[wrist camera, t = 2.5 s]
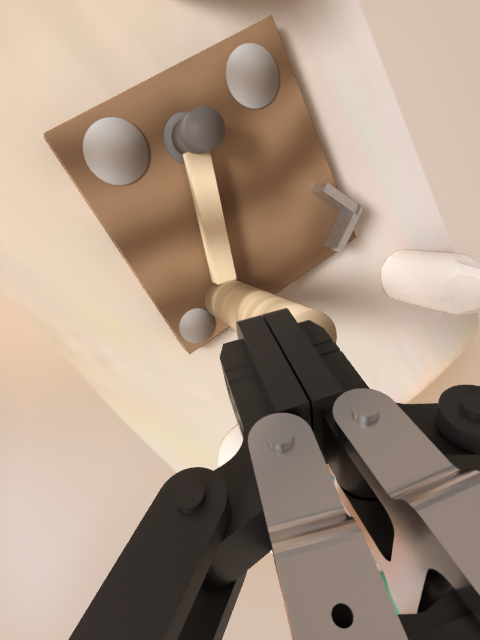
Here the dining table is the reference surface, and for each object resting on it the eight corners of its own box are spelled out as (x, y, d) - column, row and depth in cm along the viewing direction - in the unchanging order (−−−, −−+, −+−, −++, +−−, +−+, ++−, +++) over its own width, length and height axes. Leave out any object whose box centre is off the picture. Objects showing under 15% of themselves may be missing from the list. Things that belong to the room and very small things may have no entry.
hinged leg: (161, 122, 29) (230, 62, 17) (206, 115, 30) (300, 54, 18) (209, 324, 34) (288, 381, 22) (247, 311, 35) (339, 359, 24)
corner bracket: (293, 227, 35) (305, 228, 34) (314, 183, 35) (327, 182, 34) (329, 250, 37) (342, 251, 36) (349, 208, 37) (363, 207, 36)
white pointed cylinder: (475, 299, 32) (514, 243, 32) (371, 278, 43) (402, 236, 43) (506, 339, 35) (542, 287, 35) (401, 310, 46) (429, 270, 46)
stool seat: (44, 138, 28) (43, 132, 26) (260, 25, 32) (272, 13, 30) (183, 347, 36) (190, 355, 34) (343, 236, 40) (357, 237, 38)
